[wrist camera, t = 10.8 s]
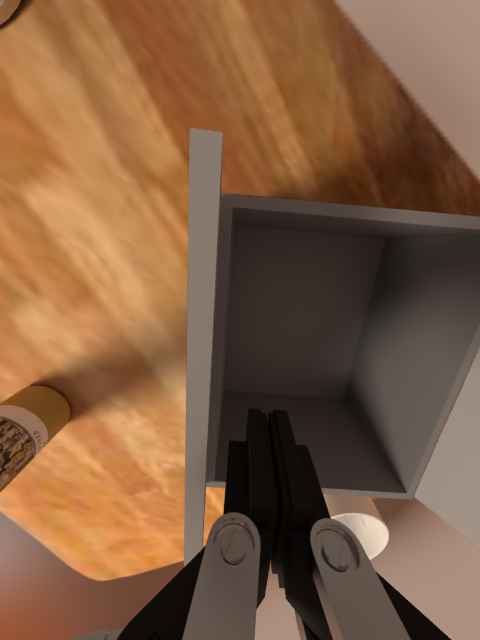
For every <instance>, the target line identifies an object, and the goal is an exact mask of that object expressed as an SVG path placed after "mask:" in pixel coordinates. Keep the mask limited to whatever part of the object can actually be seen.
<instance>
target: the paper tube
mask: <svg viewBox="0 0 480 640" xmlns="http://www.w3.org/2000/svg"><path fill="white" fill-rule="evenodd" d="M69 418H70V407H69V404H68V402H67V400H66V399H65V398H64V397H63V396H62V395H61V394H60V393H59V392H57V391H56V390H54V389H52V388H49V387H45V386H30V387H26V388H24V389H22V390H20V391H19V392H17V393H16V394H14V395H13V396H11V397H10V398H8V399H7V400H5V401H4V402H2V403H1V404H0V492H1V491H2V490H3V489H4V488H5V487H6V486H7V485H8V484H9V483H10V482H11V481H12V480H13V479H14V478H15V477H16V476H17V475H18V474H19V473H20V472H21V471H22V470H23V469H24V468H25V466H26V465H27V464H28V463H29V462H30V461H31V460H32V459H33V458H34V457H35V456H36V455H37V454H38V453H39V452H40V451H41V450H42V449H43V448H44V447H45V445H46V444H47V443H48V442H49V441H50V440H51V439H52V438H53V437H54V436H55V435H56V434H57V433H58V432H59V431H60V430H61V429H62V428H63V427H64V426H65V425H66V424H67V422H68V420H69Z"/></svg>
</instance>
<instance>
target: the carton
mask: <svg viewBox="0 0 480 640" xmlns="http://www.w3.org/2000/svg"><path fill="white" fill-rule="evenodd" d="M479 347H480V217H477V216H467V215H456V214H445V213H434V212H424V211H413V210H402V209H391V208H381V207H370V206H359V205H348V204H338V203H327V202H316V201H305V200H295V199H284V198H273V197H262V196H252V195H241V194H230V193H221V209H220V228H219V247H218V267H217V286H216V305H215V324H214V343H213V363H212V382H211V401H210V420H209V439H208V459H207V478H206V487H219V488H226V475H227V462H228V449H229V440H232V441H245V440H246V429H247V418H248V408H257V409H261V411H262V412H264V413H266V416H267V423H268V415H269V413H273V411H274V410H287V412H288V416H289V419H290V423H291V427H292V430H293V434H294V438H295V442H296V445H306V446H307V447H308V449H309V452H310V455H311V458H312V461H313V465H314V468H315V471H316V474H317V477H318V480H319V483H320V486H321V489H322V492H323V494H333V495H349V496H365V497H382V498H398V499H412V498H413V496H414V494H415V491H416V489H417V487H418V485H419V482H420V480H421V478H422V475H423V473H424V471H425V469H426V466H427V464H428V462H429V460H430V457H431V455H432V453H433V451H434V448H435V446H436V444H437V442H438V439H439V437H440V435H441V432H442V430H443V428H444V426H445V423H446V421H447V419H448V417H449V414H450V412H451V410H452V408H453V405H454V403H455V401H456V399H457V396H458V394H459V392H460V390H461V387H462V385H463V383H464V380H465V378H466V376H467V374H468V371H469V369H470V367H471V365H472V362H473V360H474V358H475V356H476V353H477V351H478V349H479Z"/></svg>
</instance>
